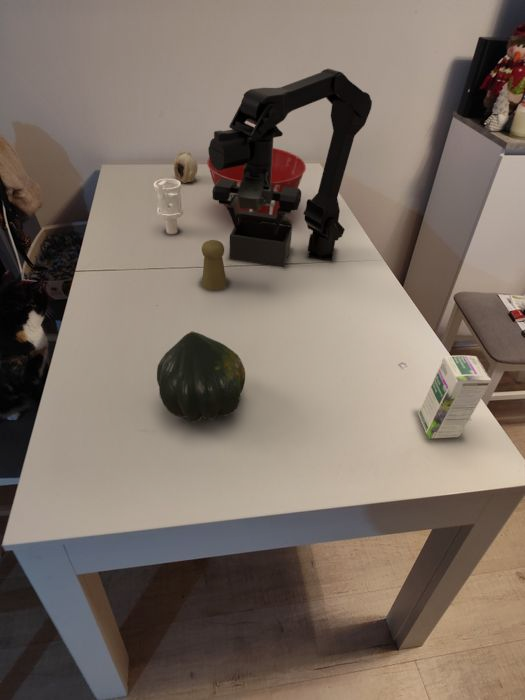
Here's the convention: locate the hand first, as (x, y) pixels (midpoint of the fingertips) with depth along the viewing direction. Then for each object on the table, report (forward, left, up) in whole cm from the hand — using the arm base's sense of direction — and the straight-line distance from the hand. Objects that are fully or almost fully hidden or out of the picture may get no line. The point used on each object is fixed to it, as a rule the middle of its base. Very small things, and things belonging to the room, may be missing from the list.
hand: (255, 230), depth 102 cm
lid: (+1, -12, -3) cm, 13 cm away
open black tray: (+1, -12, -13) cm, 18 cm away
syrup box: (-42, +37, -13) cm, 57 cm away
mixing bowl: (+8, -36, -13) cm, 39 cm away
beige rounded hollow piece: (+37, -54, -8) cm, 66 cm away
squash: (0, +42, -13) cm, 44 cm away
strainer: (+28, -17, -13) cm, 35 cm away
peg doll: (+9, +5, -13) cm, 17 cm away
